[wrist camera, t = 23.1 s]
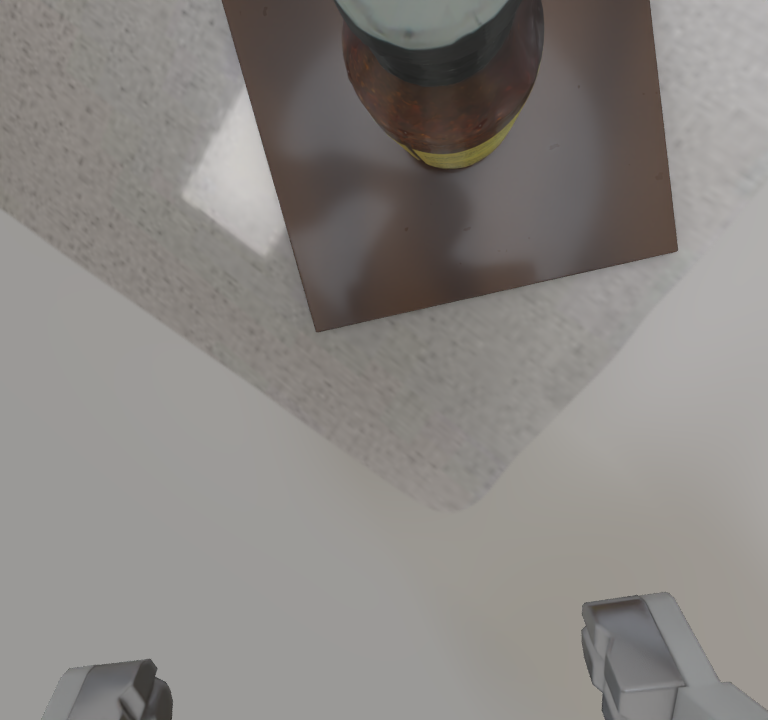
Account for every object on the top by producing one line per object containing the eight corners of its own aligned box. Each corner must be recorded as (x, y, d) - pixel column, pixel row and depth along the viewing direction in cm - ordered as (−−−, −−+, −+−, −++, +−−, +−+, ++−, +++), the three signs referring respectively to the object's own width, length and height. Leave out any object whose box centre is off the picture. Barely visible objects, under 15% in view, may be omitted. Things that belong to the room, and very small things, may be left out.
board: (318, 330, 33) (316, 332, 33) (210, -49, 28) (205, -54, 28) (674, 250, 30) (678, 251, 30) (622, -194, 25) (626, -203, 25)
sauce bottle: (537, 73, 28) (731, -182, 9) (475, 192, 30) (526, 187, 11) (419, 10, 28) (361, -389, 9) (364, 133, 30) (217, 24, 11)
